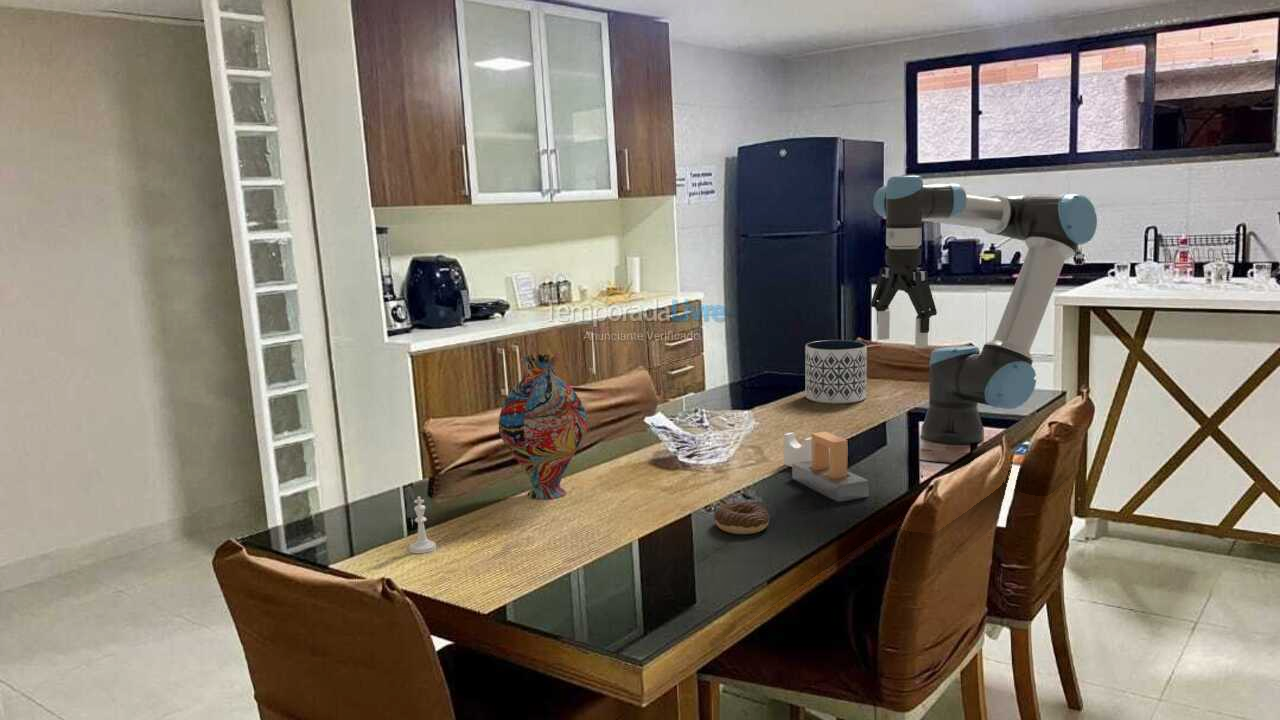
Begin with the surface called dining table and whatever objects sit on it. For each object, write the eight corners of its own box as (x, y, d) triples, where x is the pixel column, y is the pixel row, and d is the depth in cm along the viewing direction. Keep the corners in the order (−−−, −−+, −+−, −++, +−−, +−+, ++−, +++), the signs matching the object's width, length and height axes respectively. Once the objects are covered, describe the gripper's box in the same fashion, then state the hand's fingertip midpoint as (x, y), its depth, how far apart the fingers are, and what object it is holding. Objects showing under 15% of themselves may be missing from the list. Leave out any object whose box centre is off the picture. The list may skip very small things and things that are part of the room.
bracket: (807, 472, 218) (807, 439, 216) (784, 465, 223) (783, 434, 222) (844, 460, 226) (844, 429, 224) (820, 454, 231) (820, 424, 230)
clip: (825, 477, 210) (825, 431, 208) (847, 488, 202) (847, 440, 200) (811, 480, 208) (811, 433, 207) (833, 490, 201) (833, 442, 199)
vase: (603, 484, 213) (597, 351, 208) (569, 511, 195) (562, 367, 190) (526, 478, 219) (519, 349, 214) (487, 504, 201) (478, 364, 196)
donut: (711, 519, 188) (710, 499, 188) (764, 517, 189) (764, 497, 188) (717, 538, 178) (716, 518, 177) (773, 536, 178) (773, 516, 178)
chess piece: (411, 544, 180) (407, 493, 178) (437, 543, 180) (434, 492, 178) (407, 554, 175) (403, 501, 173) (434, 552, 175) (430, 500, 173)
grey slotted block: (821, 474, 215) (821, 459, 214) (868, 496, 198) (868, 480, 198) (792, 478, 212) (792, 463, 212) (837, 502, 196) (837, 485, 195)
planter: (872, 403, 282) (873, 348, 279) (810, 405, 282) (810, 350, 279) (859, 390, 300) (859, 339, 297) (801, 392, 300) (801, 340, 297)
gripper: (855, 245, 219) (855, 337, 223) (926, 251, 196) (924, 352, 200) (883, 244, 222) (882, 334, 226) (955, 249, 199) (953, 349, 203)
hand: (901, 343), depth 213 cm, fingers open, 13 cm apart
